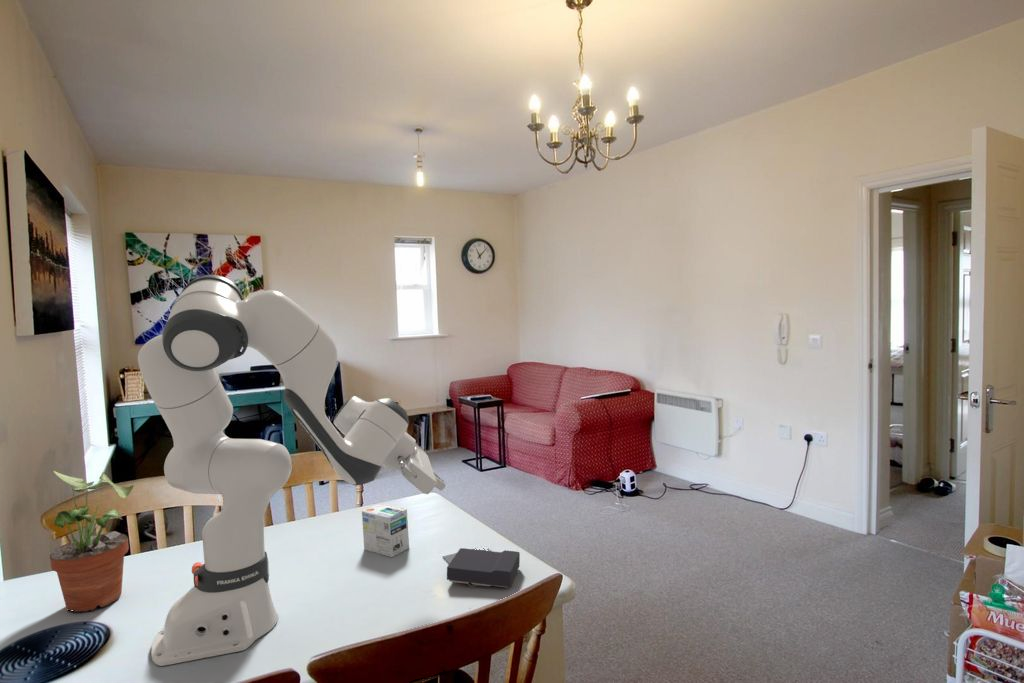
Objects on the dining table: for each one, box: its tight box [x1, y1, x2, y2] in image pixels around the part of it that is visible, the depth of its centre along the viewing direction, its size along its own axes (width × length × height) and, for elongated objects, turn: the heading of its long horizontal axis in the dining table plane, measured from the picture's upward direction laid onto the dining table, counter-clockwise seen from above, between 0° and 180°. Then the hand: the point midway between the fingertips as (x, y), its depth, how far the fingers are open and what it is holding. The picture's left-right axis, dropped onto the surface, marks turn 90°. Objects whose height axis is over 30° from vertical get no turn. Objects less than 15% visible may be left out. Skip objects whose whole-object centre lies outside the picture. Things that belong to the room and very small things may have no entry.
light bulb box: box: [361, 503, 410, 558], centre depth 151 cm, size 11×7×11 cm, turn 58°
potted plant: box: [49, 468, 134, 612], centre depth 128 cm, size 16×15×35 cm
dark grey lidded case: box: [446, 547, 521, 588], centre depth 133 cm, size 11×4×15 cm
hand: (443, 486), depth 133 cm, fingers closed
